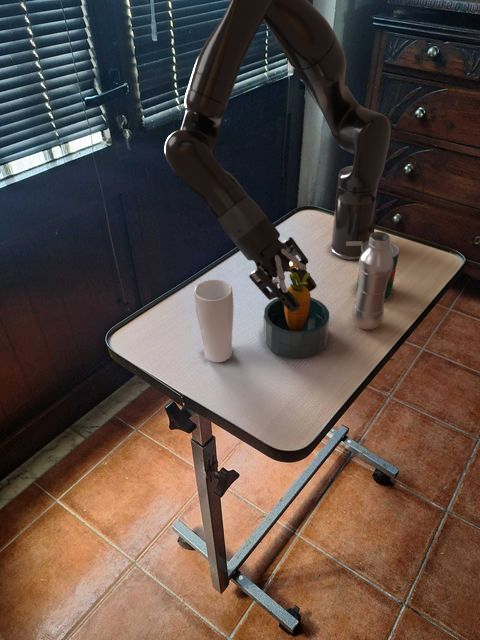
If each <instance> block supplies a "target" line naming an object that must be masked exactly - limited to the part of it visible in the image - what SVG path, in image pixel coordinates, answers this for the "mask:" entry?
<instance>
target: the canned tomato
mask: <svg viewBox="0 0 480 640" xmlns="http://www.w3.org/2000/svg"><path fill="white" fill-rule="evenodd" d="M368 243H369V241H366V242H365V243H363V244H362V247H361V255H362V253H363V252H364V251H365V250H366V249H367V248H368V247H369V245H368ZM388 250H389V252H390V254H391V256H392V258H393V268H392V271H391V274H390V277H389V279H388V282H387V286H386V290H385V296H384V302H385V301H387V300H389V299H390V298H391V296H392V292H393V287H394V282H395V276H396V270H397V266H398V265H397V264H398V260H399V254H400V248H399V246H398V245H397V244H396V243H394V242H392V241H390V246H389V248H388ZM360 257H361V256H360ZM358 285H359V271H358V272H357V279H356V287H355V293H356V294H357V291H358Z"/></svg>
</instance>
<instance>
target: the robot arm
mask: <svg viewBox="0 0 480 640" xmlns="http://www.w3.org/2000/svg"><path fill="white" fill-rule="evenodd" d="M263 22H264V23H265V25H266V27H267V28H268V31H269V32H270V34H271V35H272V37H273V38H274V40H275V42H276V43H277V45H278V46H279V48H280V50H281V51H282V52H283V54H284V56H285V58H286V60H287V61H288V63H289V65H290V66H291V68H292V69H293V71H294V72H295V74H296V76H297V77H298V79H299V80H300V81H301V83H302V84H303V86H304V87H305V89H306V90H307V91H308V93H309V95H310V96H311V98H312V100H313V101H314V102H315V104H316V105H317V107H318V108H319V109H320V111H321V113H322V115H323V117H324V119H325V122H326V124H327V126H328V129H329V130H330V132H331V134H332V136H333V138H334V140H335V142H336V143H337V145H338V146H339V147H340V148H341V149H343V150H344V151H346V152H349V154H350V153H351V154H353V155H354V159H353V163H352V165H348V166H345V167H342V168H341V169H340V170H339V171H338V175H337V182H336V183H337V184H336V191H335V192H336V193H335V204H334V213H333V214H334V216H333V226H332V237H331V245H330V251H331V254H332V255H334V256H335V257H337V258H339V259H342V260H345V261H357V260H358V261H359V259H360V256H361V247H362V244H363V243H365V242H366V241H369V240H370V235H371V234H372V233H374V232H375V229H376V224H377V223H376V222H377V215H376V213H375V209H376V203H377V195H378V187H379V183H380V179H381V177H382V175H383V172H384V170H385V165H386V160H387V155H388V150H389V147H390V142H391V135H392V134H391V133H392V131H391V130H392V129H391V122H390V120H389V118H388V117H387V116H386V115H385V114H383V113H382V112H381V113H380V112H378V111H375V110H372V109H369V108H367V107H364V106H362V105H361V104H359V102H358V101H357V100H356V98H355V97H354V95H353V94H352V92H351V90H350V88H349V86H348V84H347V69H348V67H347V66H348V65H347V57H346V53H345V51H344V49H343V47H342V44H341V42H340V41H339V39H338V37H337V35H336V33H335V31H334V29H333V28H332V26H331V24H330V23H329V22H328V20H327V19H326V17H324V16H323V14H322V13H321V12H320V11H319V10H318V9H317V8H316V7H315V6H314V5H313V4H312V3H311V2H310V1H309V0H230V2H229V4H228V6H227V8H226V10H225V12H224V14H223V15H222V17H221V19H220V20H219V22H218V23H217V25H216V27H214V29H213V31H212V32H211V34H210V35H209V37H208V38H207V40H206V41H205V43H204V45H203V46H202V48H201V50H200V52H199V54H198V56H197V59H196V61H195V64H194V67H193V69H192V73H191V75H190V78H189V82H188V86H187V89H186V92H185V96H184V103H183V104H184V108H185V113H184V117H183V119H182V120H183V121H182V125H181V127H180V129H177V130H176V131H173V132H172V133H170V135H168V137H167V139H166V141H165V143H164V156H165V159H166V161H167V163H168V165H169V167H170V168H171V170H172V171H173V172H174V174H176V176H177V177H178V178H179V179H180V180H181V181H182V182H183V183H184V184H185V185H186V186H187V187H188V188H189V189H190V190H191V191H192V192H193V193H195V195H197V196H198V198H200V199H201V201H202V202H203V203H204V205H205V206H206V208H207V209H208V210H209V212H211V214H212V215H213V217H214V218H215V219H216V220H217V222H218V223H219V224H220V226H221V228H222V229H223V230H224V232H225V233H226V235H227V236H228V237H229V238H230V240H231V241H232V242H233V244H234V245H235V246H236V247H237V248H238V250H239V251H240V252H241V253H242V255H243V256H244V257H245V258H246V260H247V261H253V262H254V264H255V267H256V269H254V270H253V271H252V272H250V273H249V275H248V278H249V279H250V280H251V282H253V284H254V285H255V286H256V287H257V288H258V289H259V290H260V292H261V293H262V294H263V295H264V296H265V297H266V298H267V300H269V301H272V300H274V299H277V298H279V299H280V300H281V302H282V303H283V304H284V305H285V307H286V308H287V309H288V310H289V311H291V312H294V311H295V310H297V309H298V308H299V307H300V304H299V303H298V302H297V300H296V299H295V298H294V296H293V295H292V294H291V293H290V291H289V290H288V291H287V289H288V287H287V285H286V282H285V280H286V276H285V273H290V274H291V273H295V272H296V273H297V275H298V277H299V280H300V282H302V280H303V277H304V276H305V274H306V273H307V272H308V271H307V264H309V259H308V257H307V256H306V255H305V253H304V252H303V250H302V249H301V248H300V247H299V244H298V243H297V242H296V241H295V239H294V237H291V236H289V237H288V238H286V239H285V240H284V241H281V240H280V237H281V233H280V231H279V230H278V229H277V228H276V227H275V225H274V224H273V223H272V221H271V220H270V219H269V218H268V216H267V215H266V214H265V213H264V211H263V209H261V207H260V206H259V205H258V203H256V201H255V200H254V199H252V197H250V195H248V193H247V192H246V190H245V189H244V188H243V186H242V185H241V184H240V182H239V181H238V180H237V179H236V178H235V176H233V175H232V174H231V172H229V171H227V170H225V169H224V168H223V167H222V165H221V164H220V163H219V162H218V160H217V159H216V158H215V156H214V154H215V151H216V148H217V145H218V140H219V135H220V130H221V125H222V121H223V117H224V115H225V112H226V110H227V107H228V105H229V102H230V99H231V96H232V93H233V90H234V87H235V86H236V82H237V79H238V76H239V74H240V71H241V68H242V65H243V63H244V60H245V58H246V56H247V54H248V51H249V49H250V48H251V45H252V43H253V41H254V39H255V37H256V35H257V33H258V32H259V31H258V30H259V29H260V28H261V25H262V23H263ZM297 256H298V257H297ZM299 259H300V260H299ZM305 282H307V285H304V286H305V287H306V288H307V289H308V290H309V292H310V293H311V292H312V291H313V290H315V289H316V288H317V286H318V285H317V283H316V282H315V279H314V278H313V277H312V276H311V274H310V275H309V277H308V278H307V280H306V281H305Z"/></svg>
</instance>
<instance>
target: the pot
mask: <svg viewBox="0 0 480 640" xmlns="http://www.w3.org/2000/svg"><path fill="white" fill-rule="evenodd" d="M329 327H330V311H329V309H328V307H327V306H326V305H325V304H324V303H323V302H321V300H318V299H316V298H314V297H310V307H309V313H308V317H307V320H306V323H305V325H304V327H303V329H302V331H301V332H297V331H290V329H289V327H288V325H287V321H286V317H285V311H284V304H283V303H282V302H281V300H280V299H279V298H273V299H272V300H270V301H269V302H268V303H267V304H266V306H265V308H264V309H263V342H264V344H265V345H266V347H267V348H268V349H269V351H271V352H273V353H274V354H276V355H278V356H280V357H283V358H288V359H307V358H309V357H313V356H315V355H317V354H318V353H320V352H321V351H322V350H323V349H324V348H325V347H326V345H327V342H328V336H329Z"/></svg>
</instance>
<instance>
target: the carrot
mask: <svg viewBox="0 0 480 640" xmlns="http://www.w3.org/2000/svg"><path fill="white" fill-rule="evenodd" d="M309 275H310V276H311V273H310V272H308V271H307V273H306V274H305V276H304V277H303V280H302V282H300V280H299V277H298V275H297V273H296V272H295V273H291V272H290V274H289V279H290V281H291V283H290V284H289V286H288V287H287V291H288V290H289V291H290V293H291V294H292V295H293V296H294V298H295V299H296V300H297V302H298V303H299V304H300V307H299V308H298V309H297V310H295V311H294V312H291V311H289V310H288V309H287V308H286V307H285V305H284V311H285V317H286V321H287V325H288V327H289V329H290V331H297V332H301V331H302V329H303V327H304V325H305V323H306V320H307V317H308V313H309V307H310V297H311V291H310V292H309V290H308V289H307V288H306V287H305V286H304V285H307V282H305V281H306V280H307V278H308V277H309Z"/></svg>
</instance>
